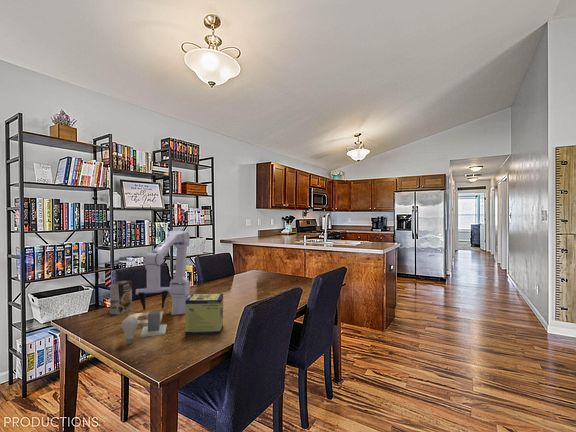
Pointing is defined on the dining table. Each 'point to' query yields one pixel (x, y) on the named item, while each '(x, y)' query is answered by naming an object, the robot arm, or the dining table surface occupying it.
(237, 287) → the dining table surface
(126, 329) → the lightbulb
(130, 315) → the pocket board
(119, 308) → the coffee box
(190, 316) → the protein box
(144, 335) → the pad
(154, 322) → the peg
